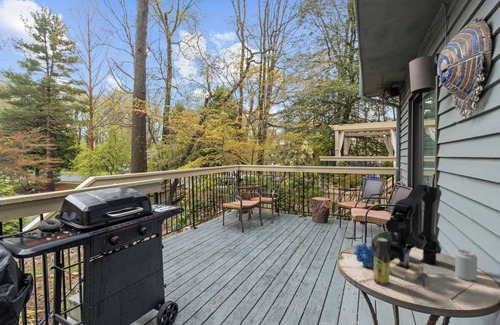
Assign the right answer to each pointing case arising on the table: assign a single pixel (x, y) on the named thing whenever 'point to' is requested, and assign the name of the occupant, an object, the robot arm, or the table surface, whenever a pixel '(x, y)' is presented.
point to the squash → (391, 238)
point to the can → (466, 265)
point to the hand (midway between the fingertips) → (404, 260)
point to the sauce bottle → (381, 263)
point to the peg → (405, 261)
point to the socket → (407, 272)
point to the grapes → (365, 254)
